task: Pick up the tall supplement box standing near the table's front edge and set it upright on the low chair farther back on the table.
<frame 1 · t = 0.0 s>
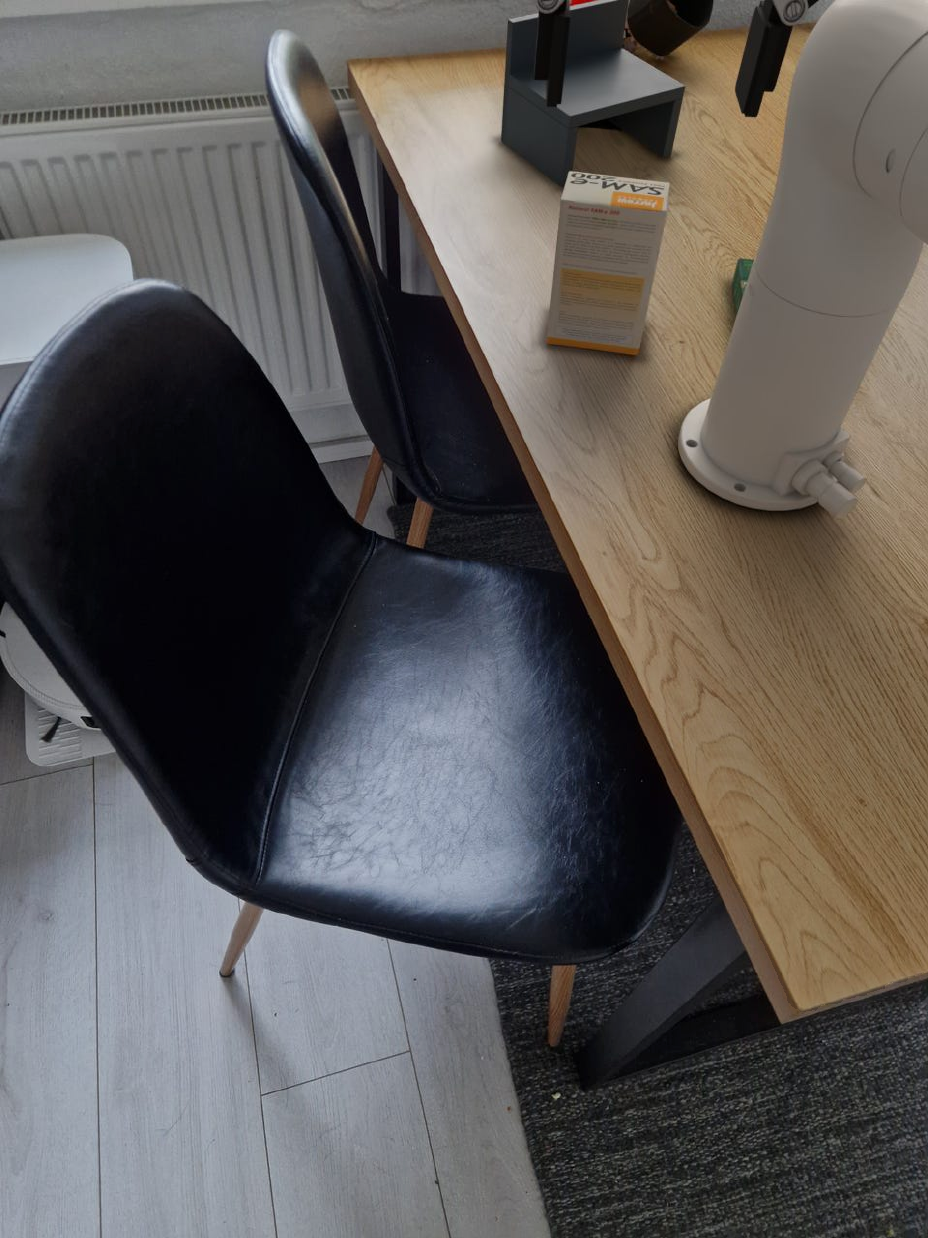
hand: (648, 100, 44), 28 cm above the table, tool pointing down, fingers open, 9 cm apart
flower: (579, 80, 109), on the table
supplement box: (592, 336, 78), on the table
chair: (585, 147, 99), on the table
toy: (677, 18, 114), point 3 cm above the table, touching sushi
coffee box: (777, 271, 82), point 1 cm above the table
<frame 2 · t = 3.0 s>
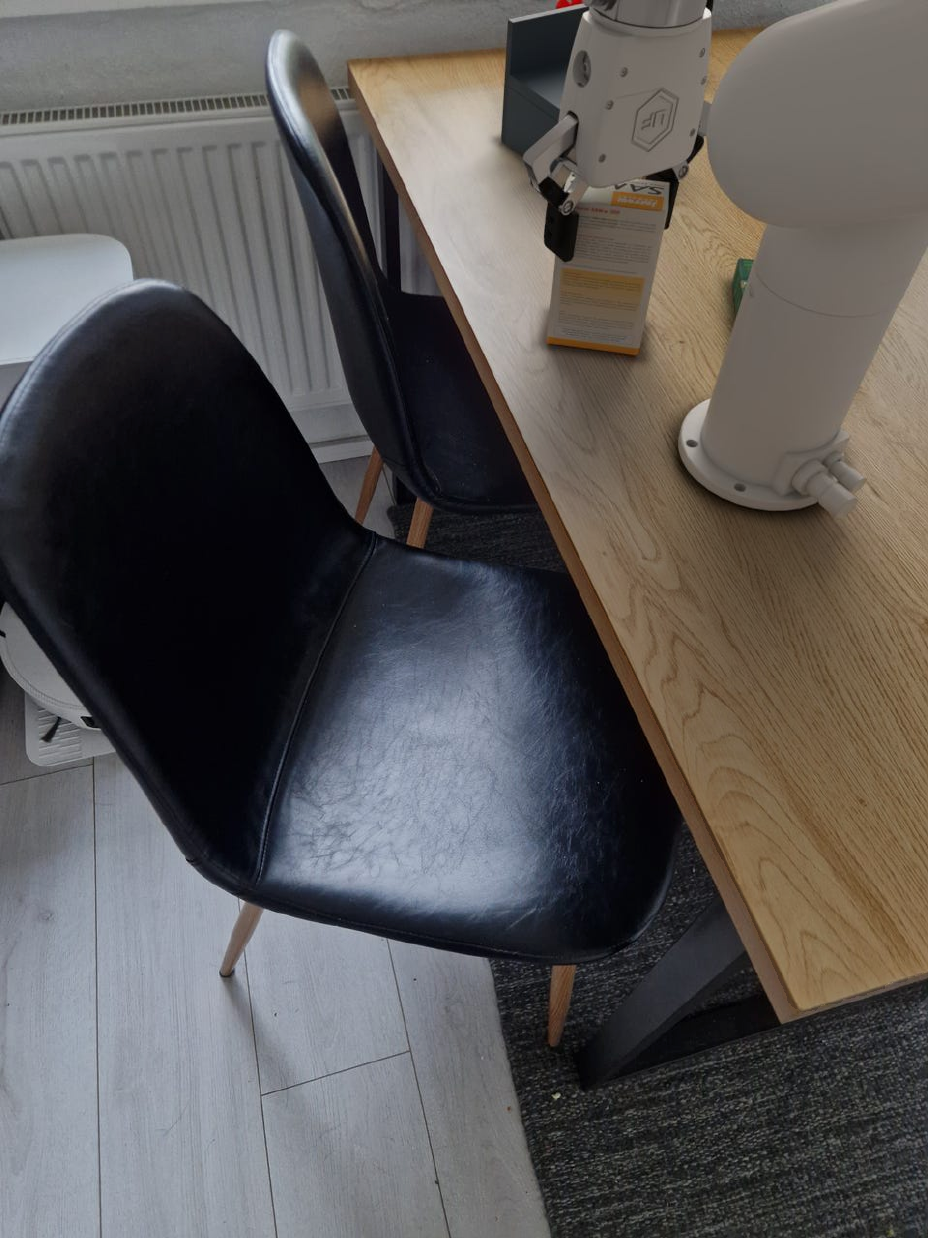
hand: (606, 237, 71), 9 cm above the table, tool pointing down, fingers closed on supplement box, 9 cm apart
supplement box: (592, 336, 78), on the table, touching gripper
everything else where it was.
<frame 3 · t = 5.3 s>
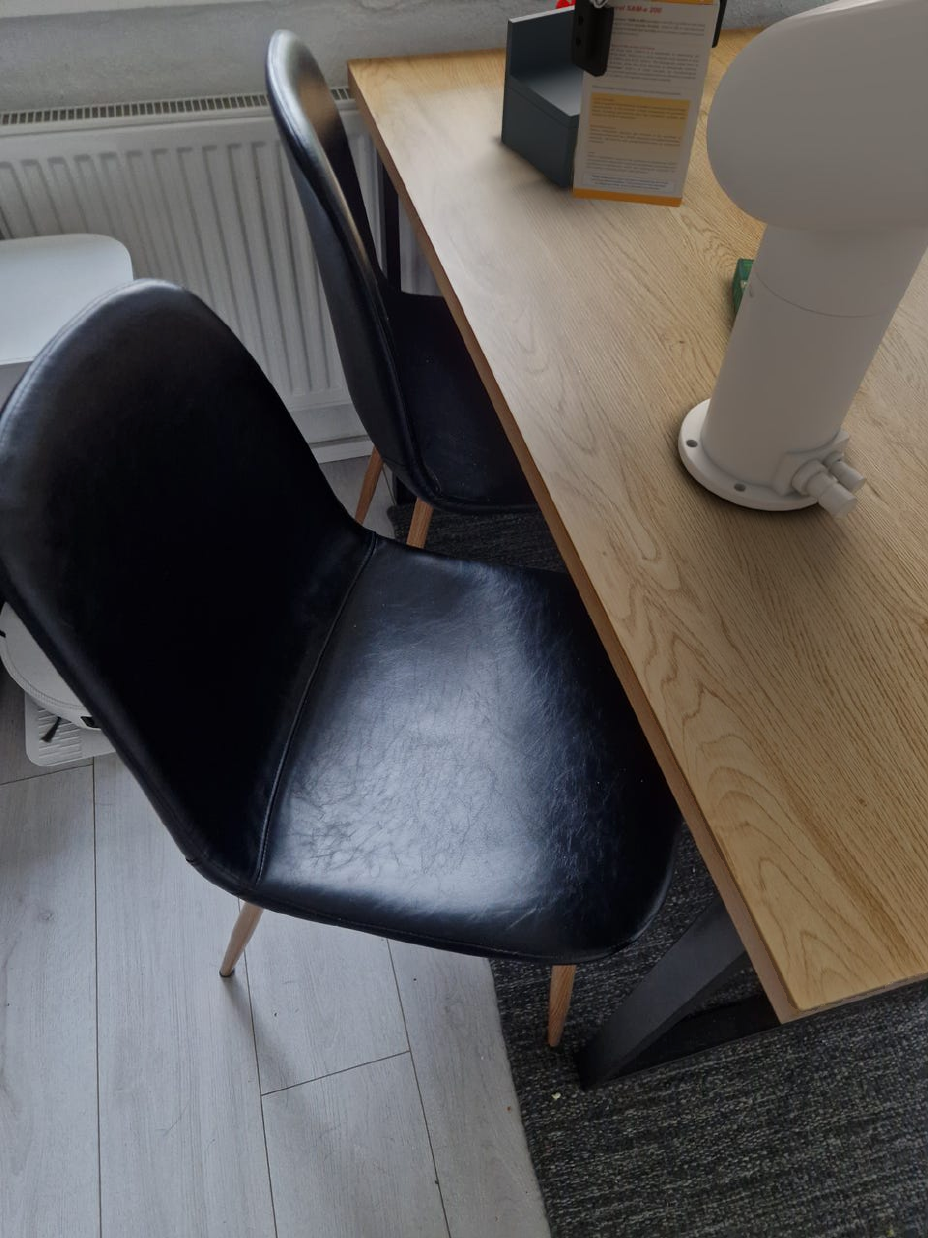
hand: (644, 54, 60), 22 cm above the table, tool pointing down, fingers closed on supplement box, 9 cm apart
supplement box: (626, 192, 67), point 13 cm above the table, touching gripper
everything else where it was.
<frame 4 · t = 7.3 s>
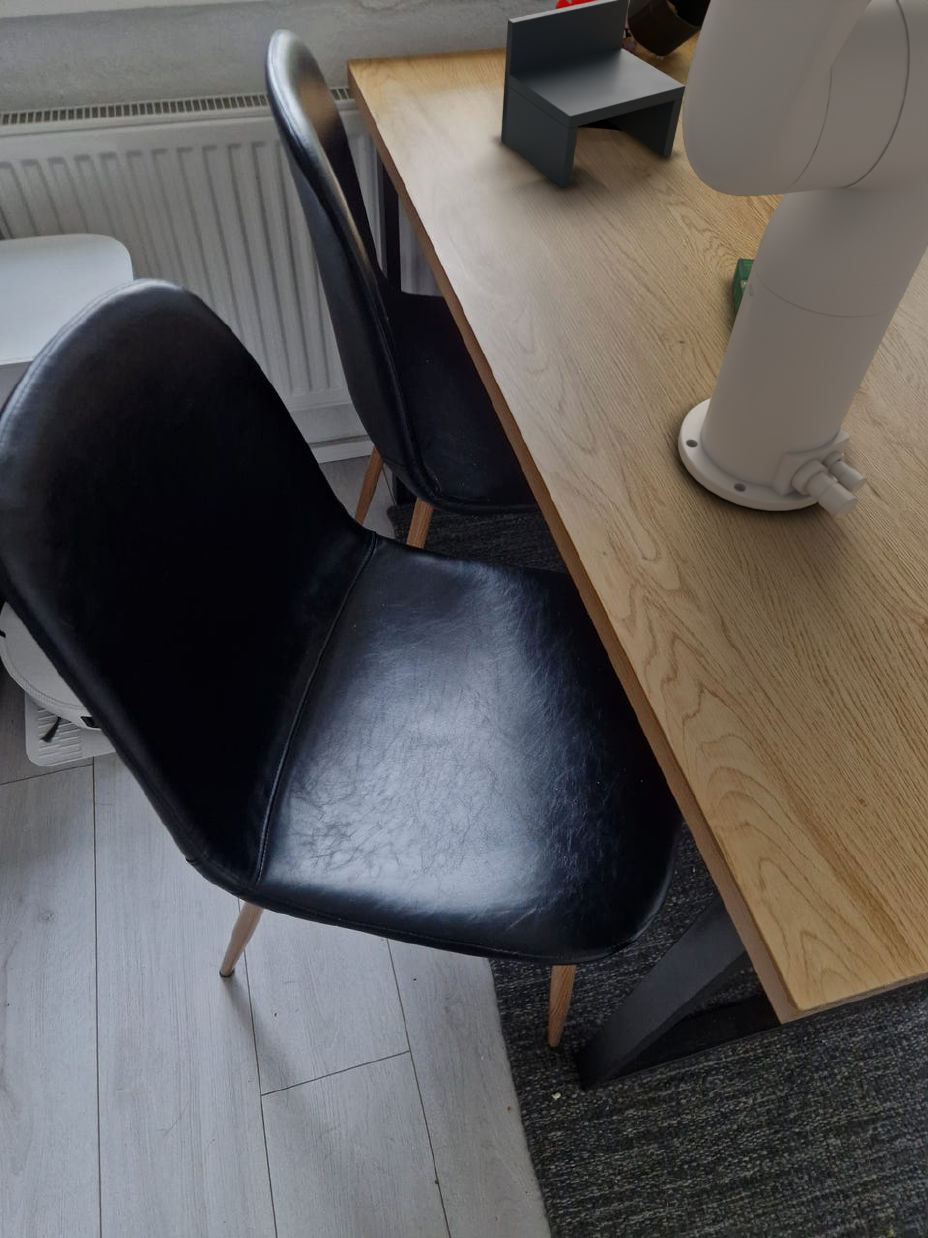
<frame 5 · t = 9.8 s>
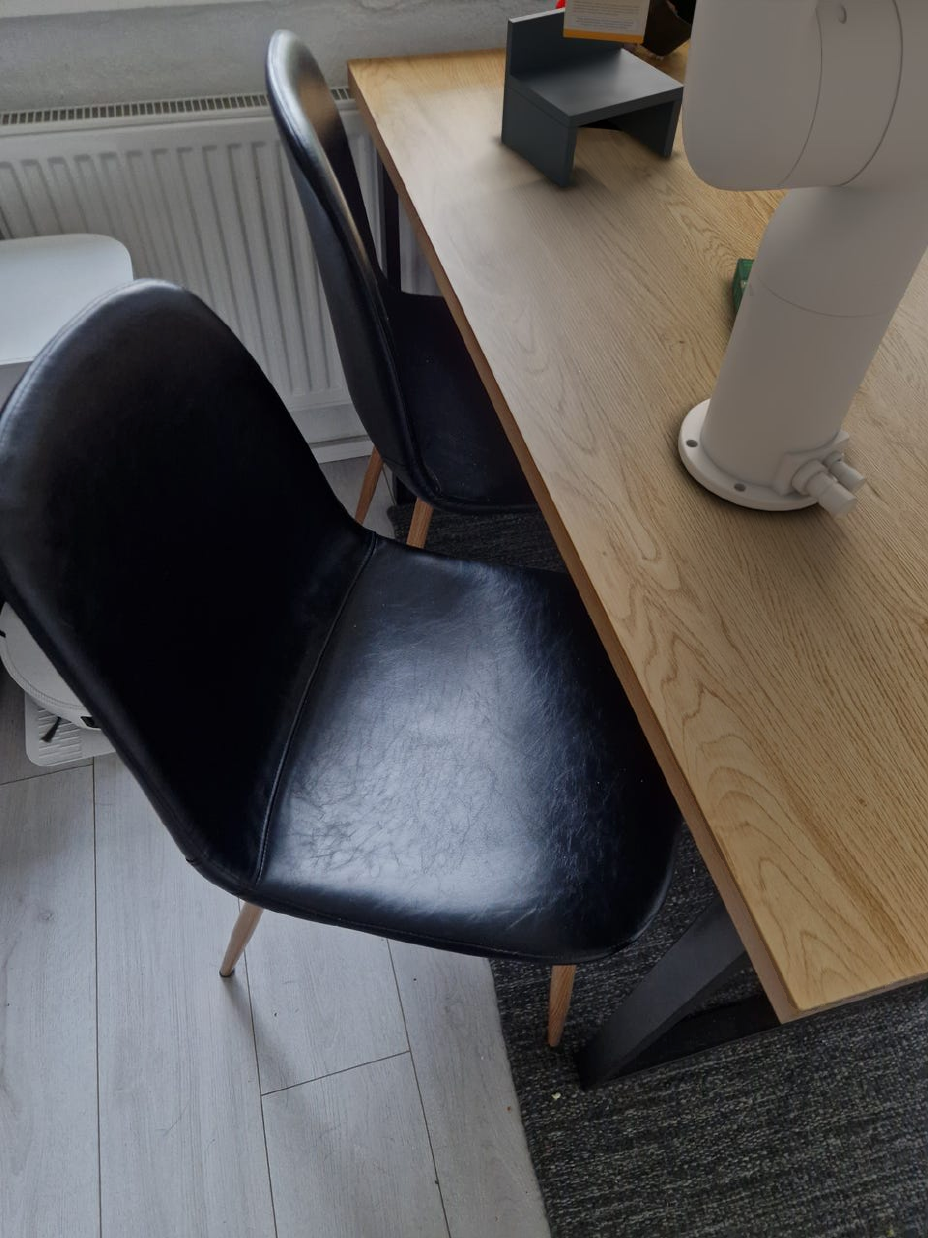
supplement box: (603, 35, 90), point 11 cm above the table, touching gripper
everything else where it was.
when the fingers open (16 cm above the table, at t = 11.5 s): supplement box stays where it is, resting on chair.
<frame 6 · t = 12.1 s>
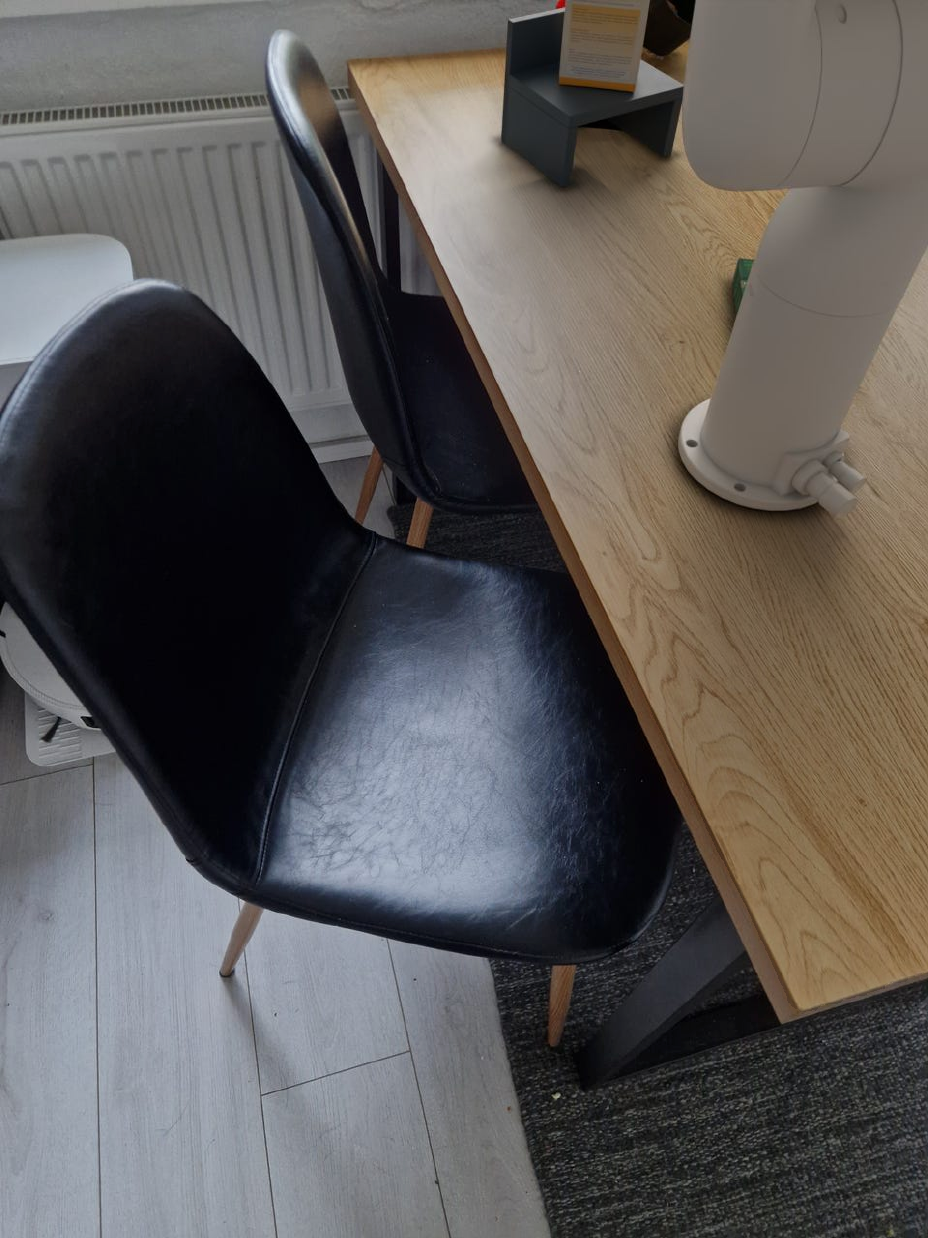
supplement box: (597, 81, 93), point 7 cm above the table, touching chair
everything else where it was.
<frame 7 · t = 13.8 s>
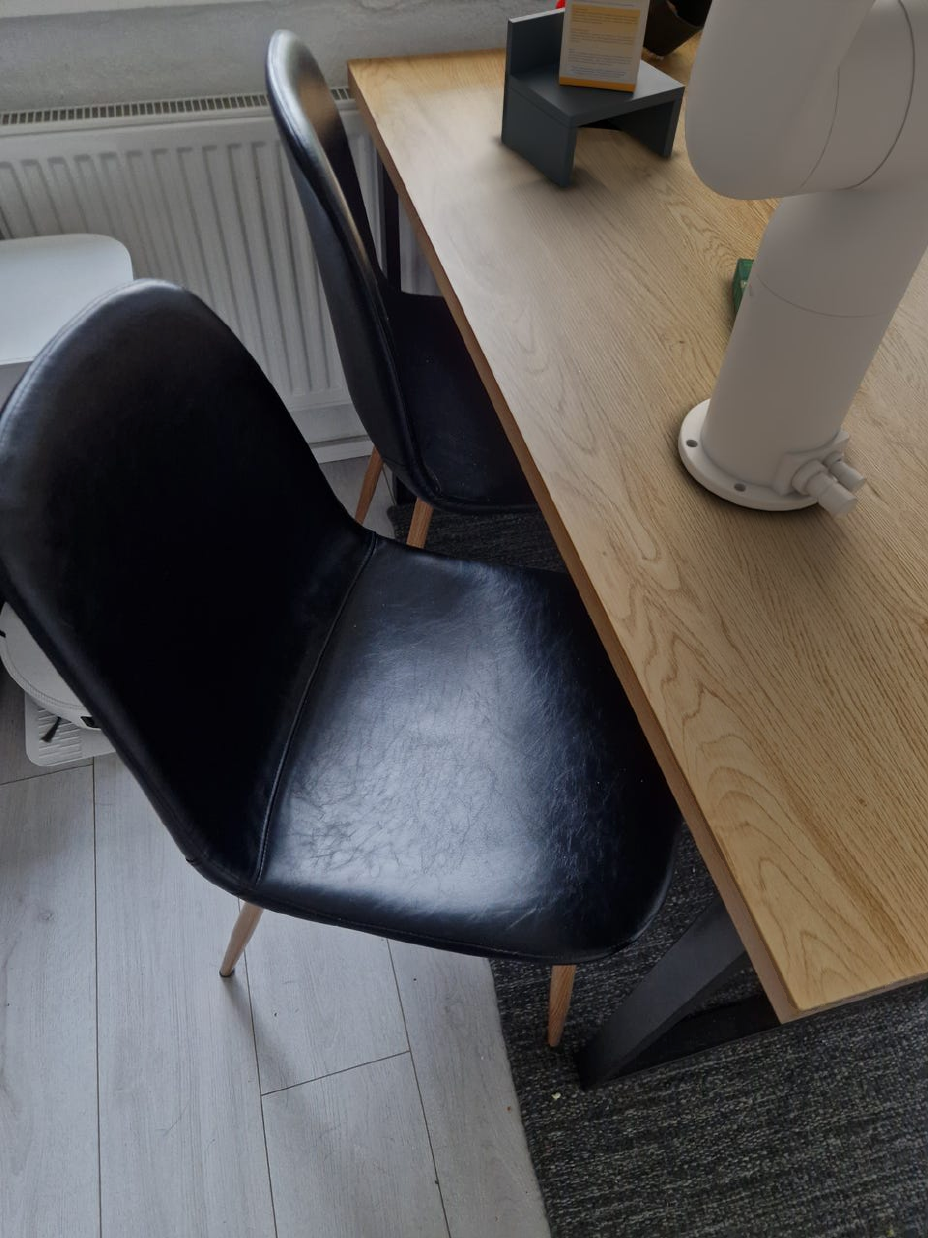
nothing on the table moved.
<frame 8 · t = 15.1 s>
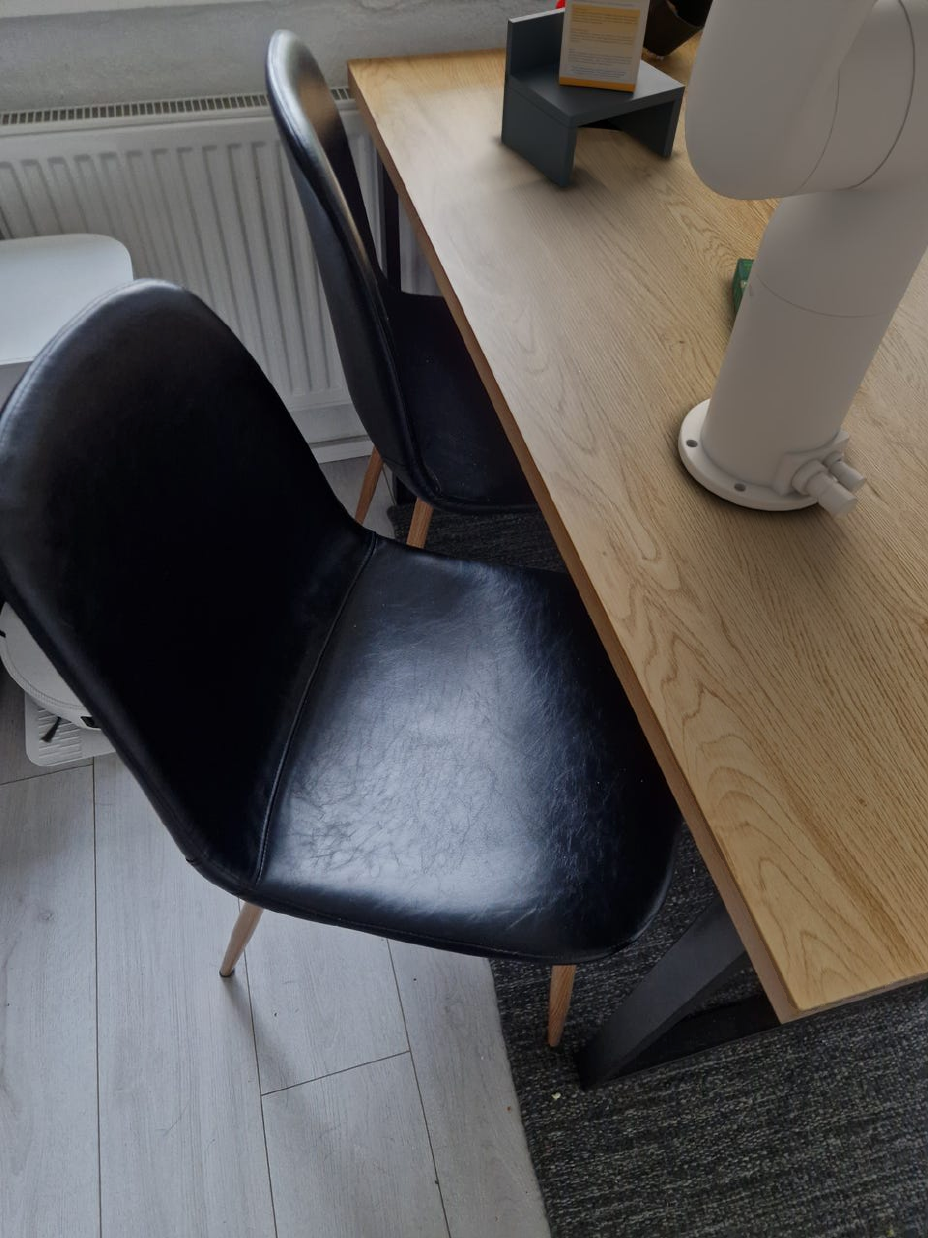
nothing on the table moved.
at the end: supplement box inside the target area on the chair (0.5 cm from its centre), point 7.0 cm above the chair's base; supplement box tilted 0°; the gripper is holding nothing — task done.
